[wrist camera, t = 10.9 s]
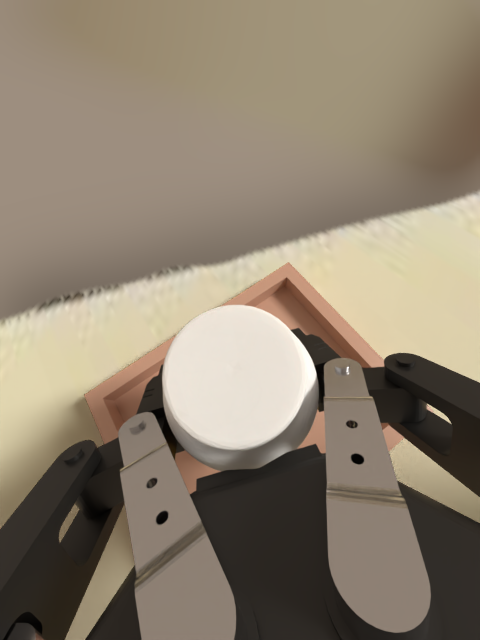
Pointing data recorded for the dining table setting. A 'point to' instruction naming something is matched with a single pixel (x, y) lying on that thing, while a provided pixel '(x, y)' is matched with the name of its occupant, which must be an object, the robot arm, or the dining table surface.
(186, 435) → the supplement bottle
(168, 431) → the robot arm
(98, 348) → the dining table surface
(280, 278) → the tray
